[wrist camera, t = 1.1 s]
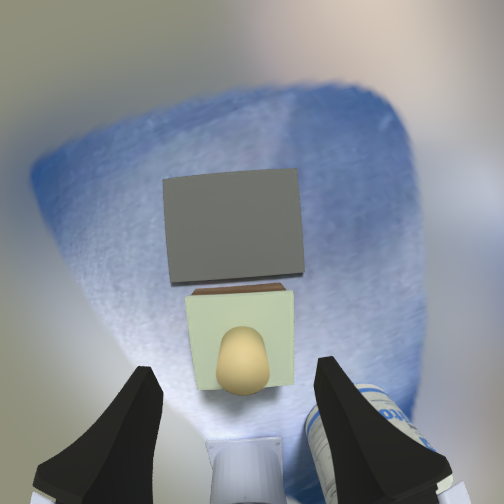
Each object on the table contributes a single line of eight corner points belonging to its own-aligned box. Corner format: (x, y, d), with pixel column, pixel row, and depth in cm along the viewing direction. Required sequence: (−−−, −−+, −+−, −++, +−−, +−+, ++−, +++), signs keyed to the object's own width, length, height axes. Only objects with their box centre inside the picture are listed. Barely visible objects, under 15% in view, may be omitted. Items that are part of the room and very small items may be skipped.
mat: (303, 271, 22) (304, 272, 22) (171, 281, 22) (170, 282, 22) (295, 169, 22) (296, 168, 21) (164, 180, 21) (162, 179, 21)
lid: (290, 374, 20) (304, 415, 14) (199, 379, 20) (189, 421, 14) (289, 287, 19) (307, 309, 14) (189, 293, 19) (170, 316, 14)
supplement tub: (399, 383, 24) (477, 461, 9) (361, 446, 24) (408, 530, 10) (323, 374, 23) (389, 487, 9) (288, 442, 24) (314, 551, 9)
